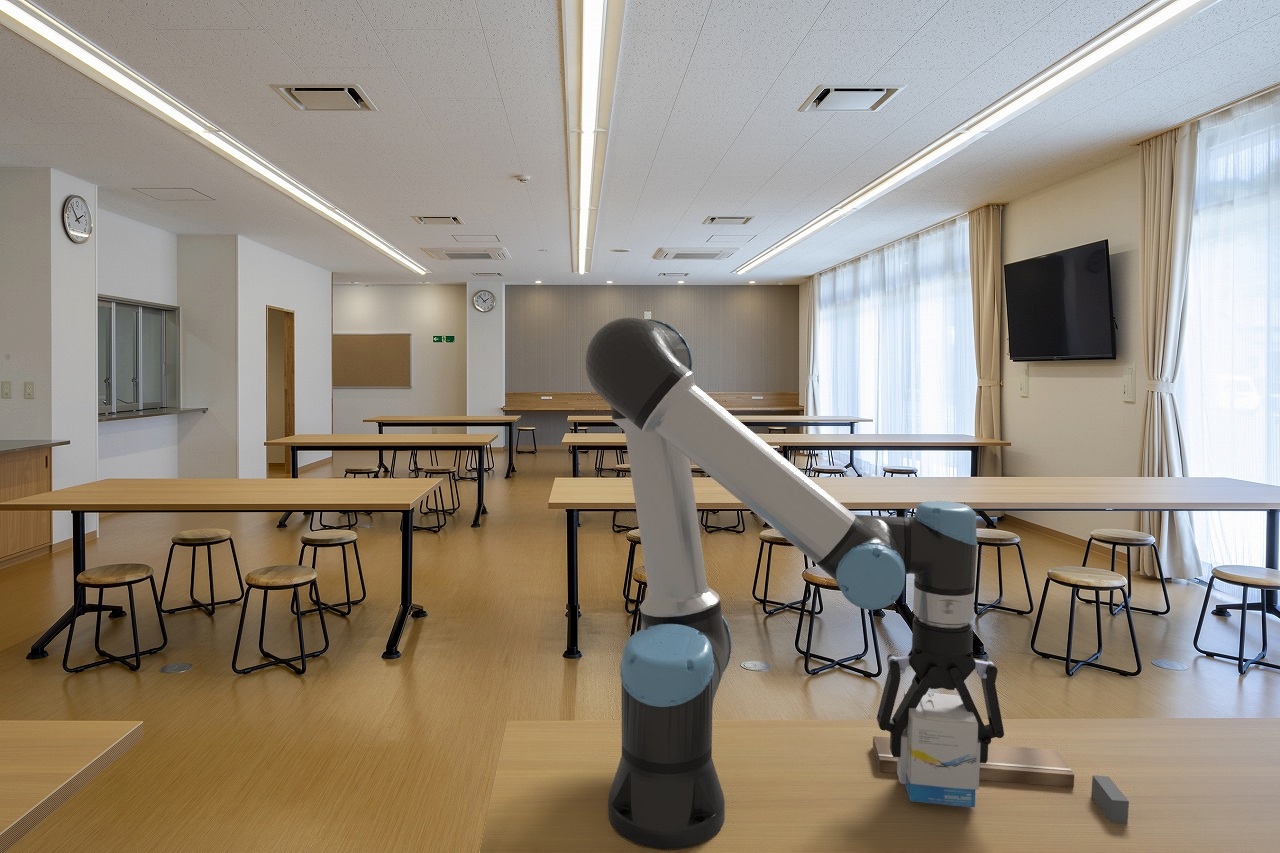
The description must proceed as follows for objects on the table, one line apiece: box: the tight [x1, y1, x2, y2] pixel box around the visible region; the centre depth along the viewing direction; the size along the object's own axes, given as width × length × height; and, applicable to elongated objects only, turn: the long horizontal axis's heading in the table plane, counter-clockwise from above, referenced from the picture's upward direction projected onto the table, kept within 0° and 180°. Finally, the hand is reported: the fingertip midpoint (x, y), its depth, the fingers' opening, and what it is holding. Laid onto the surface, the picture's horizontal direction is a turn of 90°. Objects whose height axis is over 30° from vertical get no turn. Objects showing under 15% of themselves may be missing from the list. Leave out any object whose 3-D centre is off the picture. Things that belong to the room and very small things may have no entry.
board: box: [872, 735, 1075, 788], centre depth 115 cm, size 26×7×2 cm, turn 81°
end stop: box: [1091, 774, 1130, 825], centre depth 104 cm, size 2×6×3 cm, turn 171°
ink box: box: [903, 690, 978, 808], centre depth 107 cm, size 9×8×12 cm
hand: (937, 781), depth 107 cm, fingers closed on ink box, 9 cm apart
